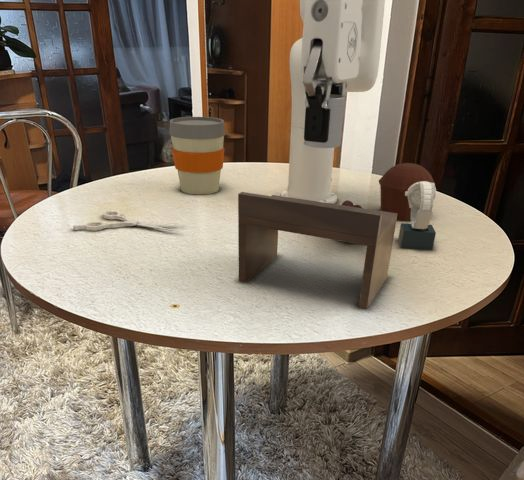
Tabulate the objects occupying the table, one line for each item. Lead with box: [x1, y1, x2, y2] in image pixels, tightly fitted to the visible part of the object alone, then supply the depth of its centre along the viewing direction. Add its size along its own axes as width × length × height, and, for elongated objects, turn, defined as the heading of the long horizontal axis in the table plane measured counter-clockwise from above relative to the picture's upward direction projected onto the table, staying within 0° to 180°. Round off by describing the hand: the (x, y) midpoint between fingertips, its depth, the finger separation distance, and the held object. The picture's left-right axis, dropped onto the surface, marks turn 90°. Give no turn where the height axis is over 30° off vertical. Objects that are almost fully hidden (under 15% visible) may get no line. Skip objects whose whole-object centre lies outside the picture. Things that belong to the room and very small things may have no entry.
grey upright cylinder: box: [304, 94, 346, 149], centre depth 68 cm, size 5×5×6 cm
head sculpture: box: [397, 181, 437, 251], centre depth 90 cm, size 6×8×11 cm
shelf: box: [237, 191, 397, 310], centre depth 75 cm, size 12×20×13 cm, turn 65°
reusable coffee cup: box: [168, 116, 226, 195], centre depth 117 cm, size 13×13×15 cm
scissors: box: [72, 210, 184, 233], centre depth 97 cm, size 11×1×20 cm
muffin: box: [378, 162, 436, 221], centre depth 105 cm, size 12×11×10 cm
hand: (323, 136), depth 69 cm, fingers closed on grey upright cylinder, 5 cm apart
